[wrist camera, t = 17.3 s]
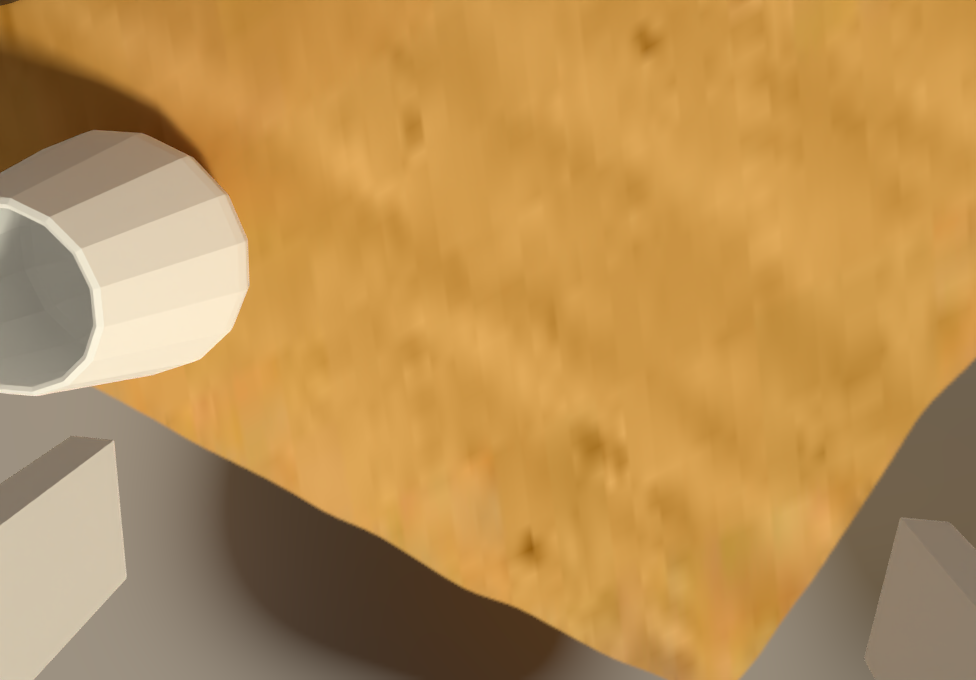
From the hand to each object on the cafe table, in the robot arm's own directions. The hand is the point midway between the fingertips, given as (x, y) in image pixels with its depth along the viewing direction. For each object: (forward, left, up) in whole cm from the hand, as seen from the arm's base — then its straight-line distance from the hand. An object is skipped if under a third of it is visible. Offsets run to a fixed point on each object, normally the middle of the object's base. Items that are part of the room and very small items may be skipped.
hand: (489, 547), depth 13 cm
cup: (-22, -2, -32) cm, 39 cm away
